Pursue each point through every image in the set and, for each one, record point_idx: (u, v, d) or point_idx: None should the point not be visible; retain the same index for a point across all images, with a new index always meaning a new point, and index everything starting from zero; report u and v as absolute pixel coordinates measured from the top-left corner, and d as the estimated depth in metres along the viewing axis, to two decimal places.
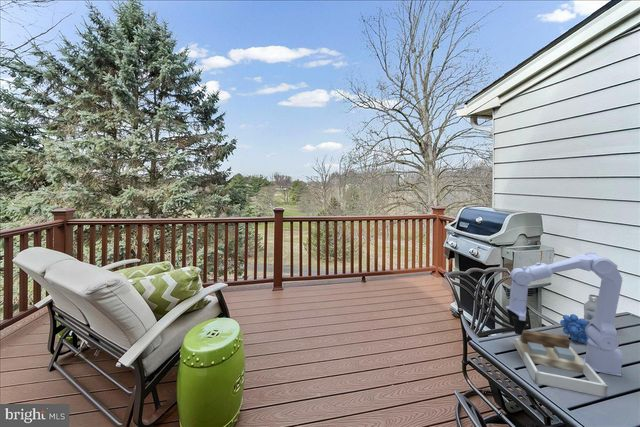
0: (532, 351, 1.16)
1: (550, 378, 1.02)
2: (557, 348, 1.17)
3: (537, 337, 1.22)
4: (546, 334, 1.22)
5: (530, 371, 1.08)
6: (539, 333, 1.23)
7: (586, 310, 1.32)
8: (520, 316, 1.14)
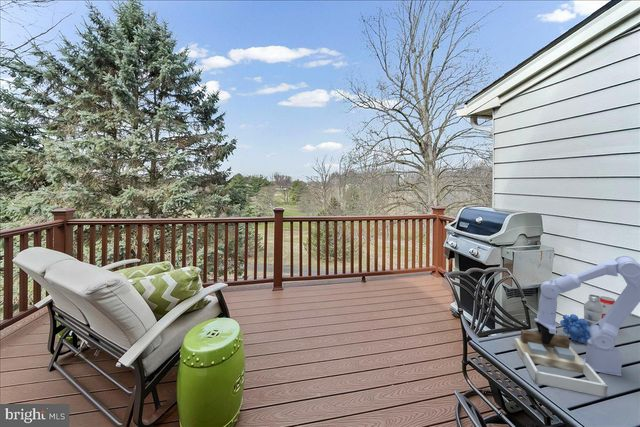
0: (532, 351, 1.16)
1: (550, 378, 1.02)
2: (557, 348, 1.17)
3: (537, 337, 1.22)
4: None
5: (530, 371, 1.08)
6: (539, 333, 1.23)
7: (586, 310, 1.32)
8: (550, 329, 1.15)
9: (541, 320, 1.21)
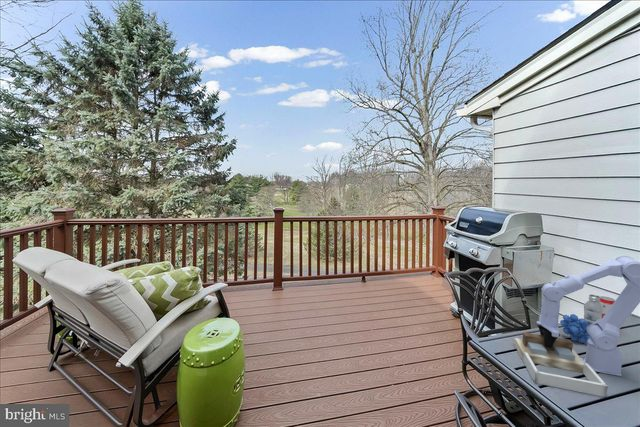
0: (532, 351, 1.16)
1: (550, 378, 1.02)
2: (557, 348, 1.17)
3: (540, 340, 1.20)
4: None
5: (530, 371, 1.08)
6: (541, 336, 1.21)
7: (586, 310, 1.32)
8: (553, 332, 1.13)
9: (543, 323, 1.18)
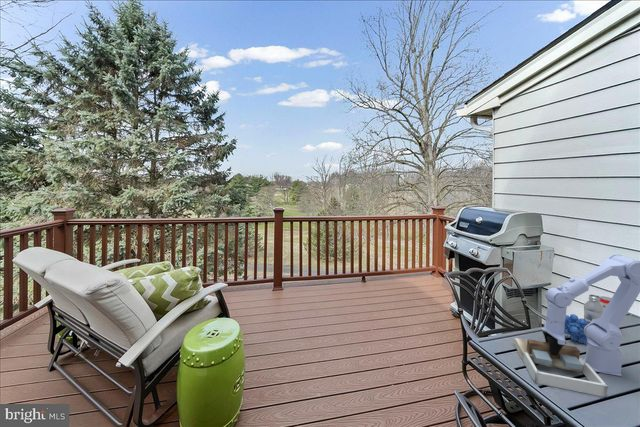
0: (536, 360, 1.11)
1: (550, 378, 1.02)
2: (564, 356, 1.11)
3: (545, 348, 1.14)
4: None
5: (530, 371, 1.08)
6: (547, 343, 1.15)
7: (586, 310, 1.32)
8: (559, 340, 1.08)
9: (549, 330, 1.13)
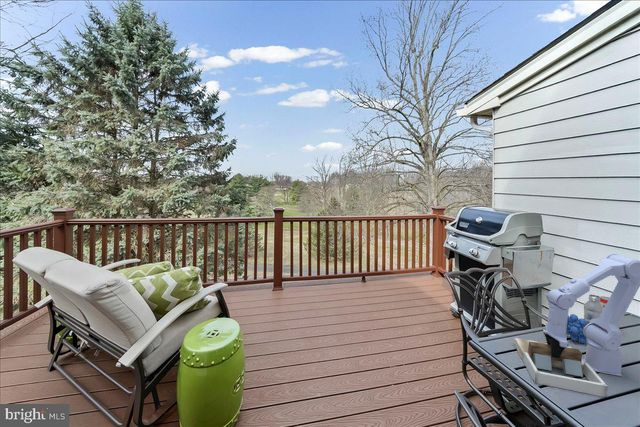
0: None
1: (550, 378, 1.02)
2: (566, 362, 1.09)
3: (547, 350, 1.13)
4: None
5: (530, 371, 1.08)
6: (548, 345, 1.14)
7: (586, 310, 1.32)
8: (561, 342, 1.06)
9: (551, 332, 1.11)
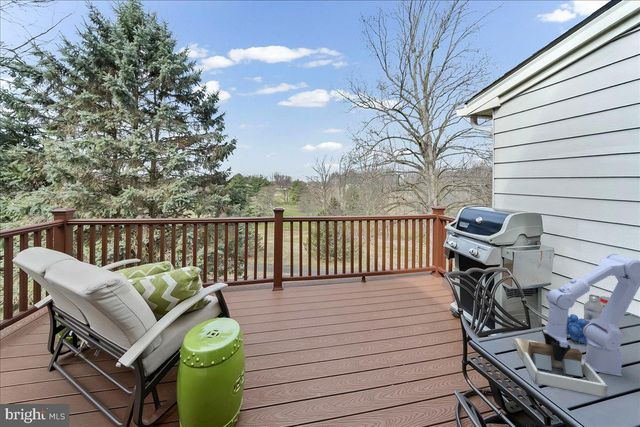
0: None
1: (550, 378, 1.02)
2: (566, 362, 1.09)
3: (547, 350, 1.13)
4: None
5: (530, 371, 1.08)
6: (548, 345, 1.14)
7: (586, 310, 1.32)
8: (561, 342, 1.06)
9: (551, 332, 1.11)
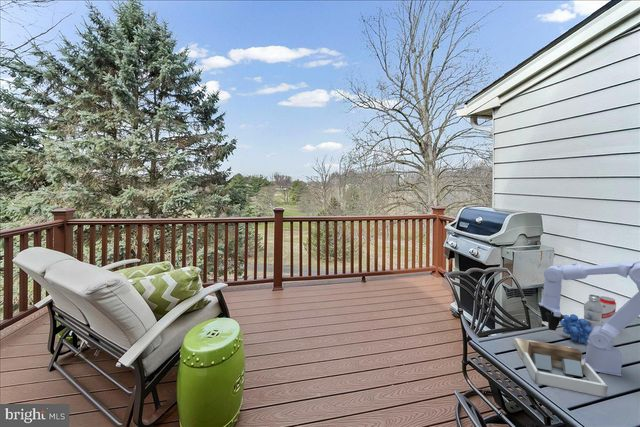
0: None
1: (550, 378, 1.02)
2: (566, 362, 1.09)
3: (547, 350, 1.13)
4: (556, 347, 1.13)
5: (530, 371, 1.08)
6: (548, 345, 1.14)
7: (586, 310, 1.32)
8: (555, 312, 1.17)
9: (545, 304, 1.22)
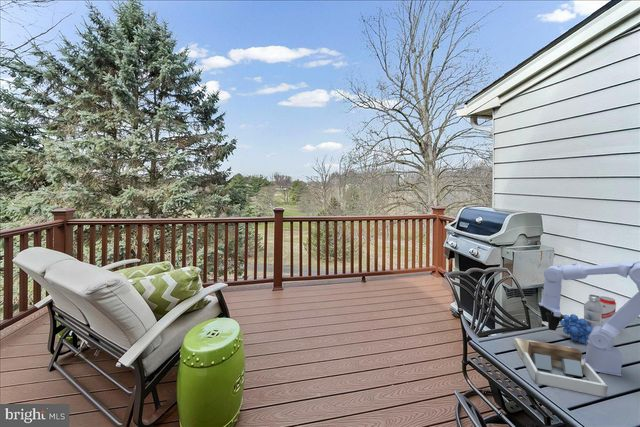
0: None
1: (550, 378, 1.02)
2: (566, 362, 1.09)
3: (547, 350, 1.13)
4: (556, 347, 1.13)
5: (530, 371, 1.08)
6: (548, 345, 1.14)
7: (586, 310, 1.32)
8: (555, 312, 1.17)
9: (545, 304, 1.22)
